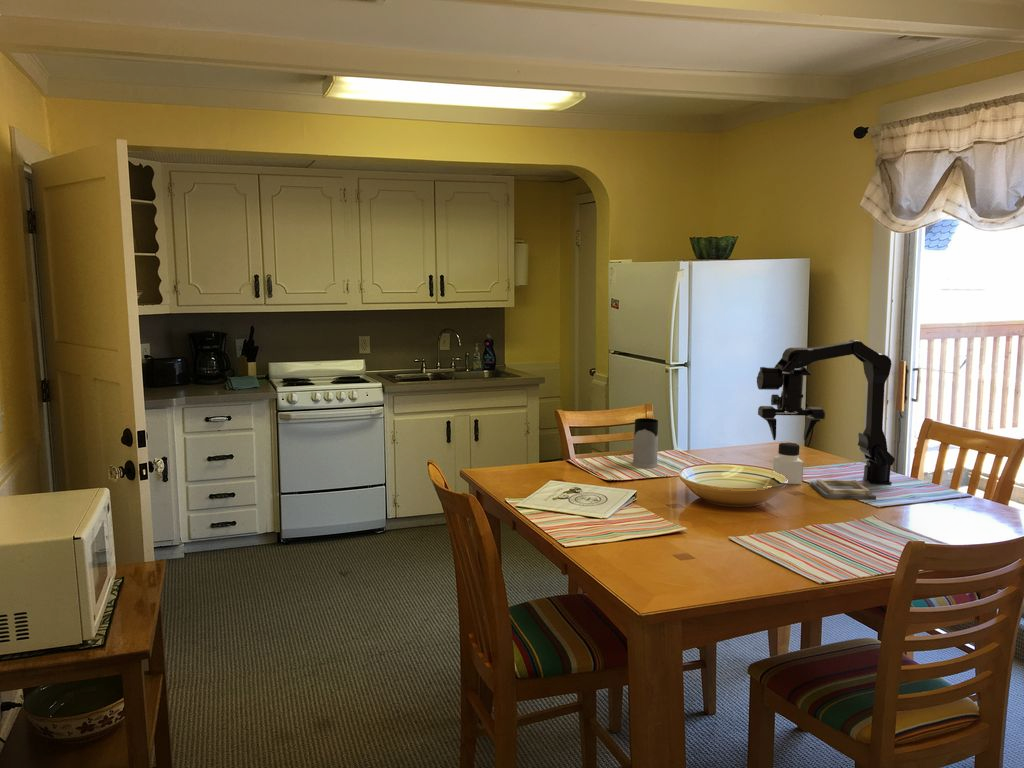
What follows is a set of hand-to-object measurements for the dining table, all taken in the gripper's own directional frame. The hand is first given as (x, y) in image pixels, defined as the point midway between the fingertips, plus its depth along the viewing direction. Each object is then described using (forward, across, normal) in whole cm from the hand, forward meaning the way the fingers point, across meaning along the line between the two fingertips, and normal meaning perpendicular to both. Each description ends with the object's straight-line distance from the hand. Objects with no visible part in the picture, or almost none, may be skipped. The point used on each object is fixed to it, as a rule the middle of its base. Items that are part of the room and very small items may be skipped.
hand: (789, 440), depth 251 cm
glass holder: (+13, +41, -19) cm, 47 cm away
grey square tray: (+13, -13, +11) cm, 21 cm away
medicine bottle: (+13, 0, 0) cm, 13 cm away
